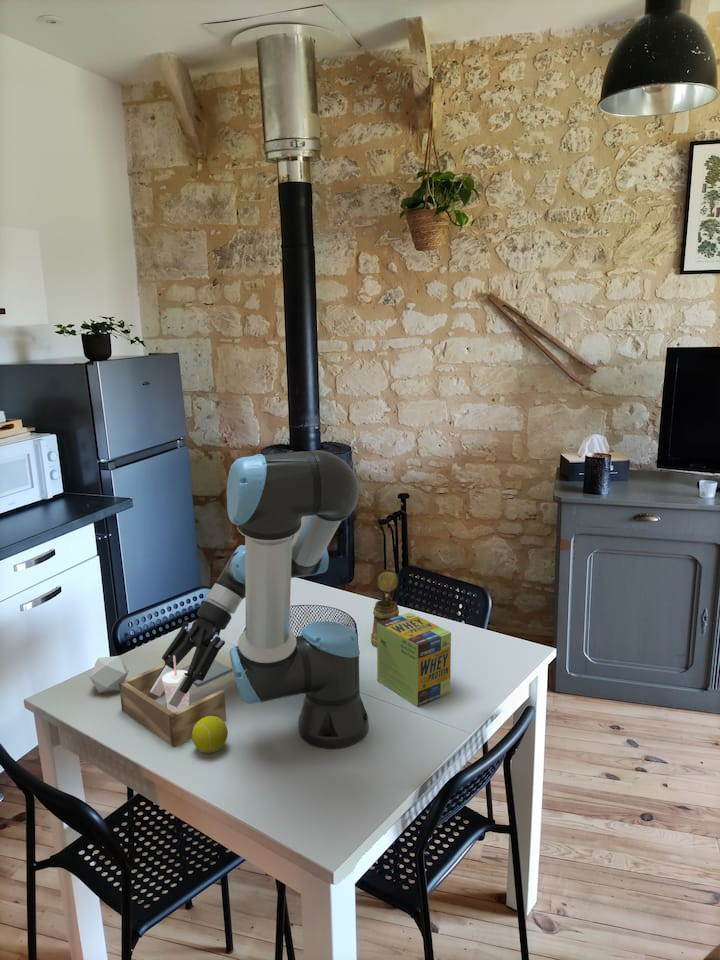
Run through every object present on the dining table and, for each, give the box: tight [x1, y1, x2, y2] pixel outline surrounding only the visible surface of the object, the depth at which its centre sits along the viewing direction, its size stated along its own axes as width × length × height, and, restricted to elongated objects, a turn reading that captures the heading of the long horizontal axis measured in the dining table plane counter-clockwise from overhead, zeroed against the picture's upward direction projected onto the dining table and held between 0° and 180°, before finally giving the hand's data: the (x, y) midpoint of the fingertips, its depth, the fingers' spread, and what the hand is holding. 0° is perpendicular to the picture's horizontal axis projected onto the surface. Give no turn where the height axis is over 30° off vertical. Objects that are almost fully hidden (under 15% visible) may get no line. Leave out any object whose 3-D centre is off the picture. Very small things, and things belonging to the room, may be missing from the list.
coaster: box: [178, 659, 233, 687], centre depth 175 cm, size 10×10×1 cm
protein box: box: [376, 612, 452, 708], centre depth 164 cm, size 10×15×16 cm
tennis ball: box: [192, 716, 229, 754], centre depth 142 cm, size 7×7×7 cm
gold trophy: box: [370, 568, 400, 648], centre depth 190 cm, size 9×14×18 cm, turn 173°
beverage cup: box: [162, 655, 190, 713], centre depth 155 cm, size 6×6×14 cm
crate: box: [119, 663, 227, 748], centre depth 155 cm, size 13×21×7 cm, turn 48°
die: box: [89, 655, 129, 694], centre depth 167 cm, size 8×9×10 cm
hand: (163, 699), depth 153 cm, fingers closed on beverage cup, 6 cm apart
